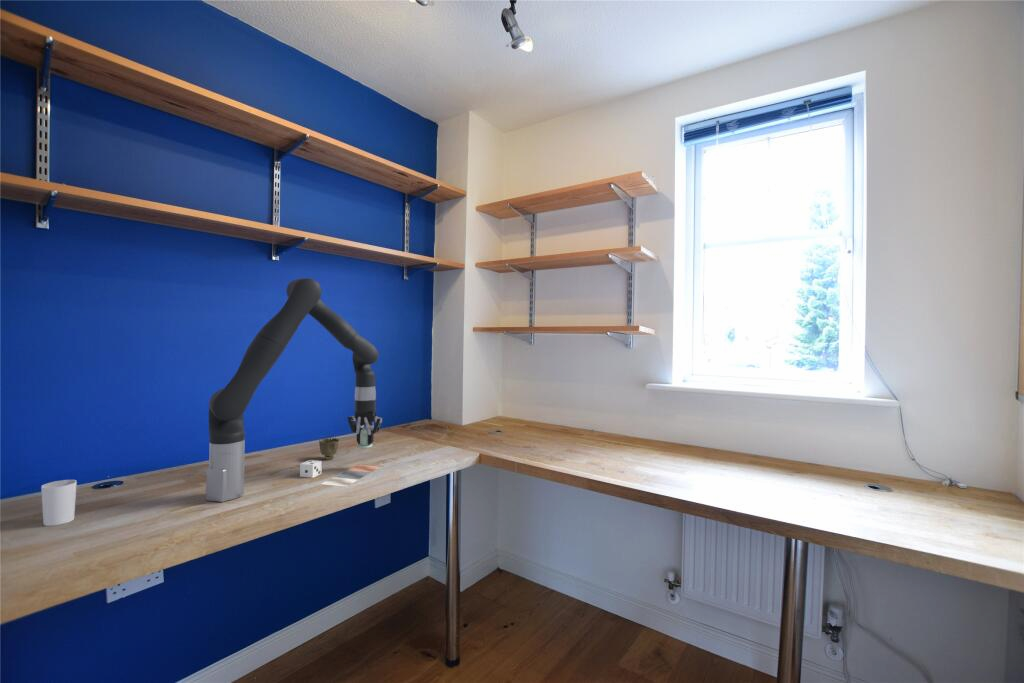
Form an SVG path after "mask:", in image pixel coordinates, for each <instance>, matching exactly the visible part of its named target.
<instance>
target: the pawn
mask: <svg viewBox="0 0 1024 683" xmlns="http://www.w3.org/2000/svg"><path fill="white" fill-rule="evenodd" d="M368 435H369V434H368V430H367V428H366V426H364V427H363V428H362V429H361V431H360V444H358V445H357V448H358V449H371V448H373V443H372V444H370V445H368Z"/></svg>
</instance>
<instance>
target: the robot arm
mask: <svg viewBox="0 0 1024 683" xmlns="http://www.w3.org/2000/svg"><path fill="white" fill-rule="evenodd" d="M285 292H286V296H287V300H286V302H285V303H284V305H283V306H282V307H281V309H280V310H279V312H277V313H276V314H275V315H274V316H273V317H272V318H271V319H269V321H268V322H266V323H265V324H264V325H263V327H262V328H260V329H259V331H258V332H257V334H256V336H254V338H253V340H252V341H251V342H250V344H249V345H248V347H247V349H246V350H245V352H244V355H243V357H242V359H241V361H240V365H239V366H238V369H237V371H236V373H235V374H234V375H233V376H232V378H230V380H229V382H228V383H227V385H226V386H225V387H223V388H221V389H218V390H217V391H215V392H214V393H213V394H212V395H211V397H210V399H209V401H208V434H209V445H208V446H209V449H208V450H209V451H208V452H209V453H208V455H209V460H208V462H209V463H208V465H209V466H208V468H206V470H205V474H206V475H205V477H206V478H205V501H211V502H221V503H224V502H227V501H230V500H236V499H238V498H240V497H242V496H244V494H245V449H246V448H245V446H246V445H245V441H246V440H245V439H246V431H245V425H244V413H245V411H246V409H247V408H248V405H249V403H250V402H251V400H252V398H253V397H254V394H255V392H256V390H257V388H258V387H259V385H260V384H261V382H262V381H263V380H264V379H265V377H266V376H267V374H268V373H270V371H271V369H272V368H273V367H274V366H275V364H276V362H277V361H278V360H279V358H280V357H281V355H282V354H283V352H284V350H285V349H286V348H287V346H288V344H289V343H290V341H291V340H292V338H293V336H294V335H295V333H296V331H297V330H298V328H299V326H300V325H301V323H302V322H303V320H304V319H305V318H306V317H307V315H309V316H311V317H312V318H313V319H315V320H316V322H318V323H319V324H320V325H321V326H323V328H324V329H325V330H327V332H328V333H329V334H330V335H331V336H333V338H334V339H335V340H336V341H337V342H338V343H339V344H340V345H341V346H342V347H344V349H347V350H350V351H351V352H352V366H353V369H354V373H355V374H354V375H355V389H354V411H355V412H354V414H353V415H350V416H348V417H347V421H348V424H349V426H350V427H349V428H350V430H351V432H352V433H355V435H356V443H357V444H358V445H359V444H360V431H361V429H362V428H364V427H366V428H367V430H368V434H369V435H368V445H370V444H372V445H373V443H374V439H375V438H374V437H375V436H374V435H375V434H376V433H378V432H379V431H380V429H381V426H382V423H383V420H384V417H379V416H377V413H376V409H377V407H376V406H377V392H376V390H377V389H376V374H375V371H374V370H372V368H371V366H372V365H374V364H375V363H376V362H377V361H378V360H379V356H380V355H379V352H378V349H377V347H375V345H373V343H371V342H370V341H368V340H367V339H366V338H364V337H363V336H362V335H360V334H359V332H357V330H356V329H354V327H353V326H352V325H351V324H350V323H349V322H348V321H347V320H345V319H344V318H343V317H341V316H340V315H339V314H338V313H336V312H335V311H334V310H332V309H331V308H330V307H329V306H328V305H327V304H325V302H323V300H322V299H321V297H322V292H323V291H322V287H321V285H320V283H319V282H318V281H317V280H315V279H313V278H309V277H308V278H306V277H304V278H303V277H302V278H296V279H294V280H292V281H290V282H289V283H288V284H287V286H286V291H285ZM374 423H375V424H374Z"/></svg>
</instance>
